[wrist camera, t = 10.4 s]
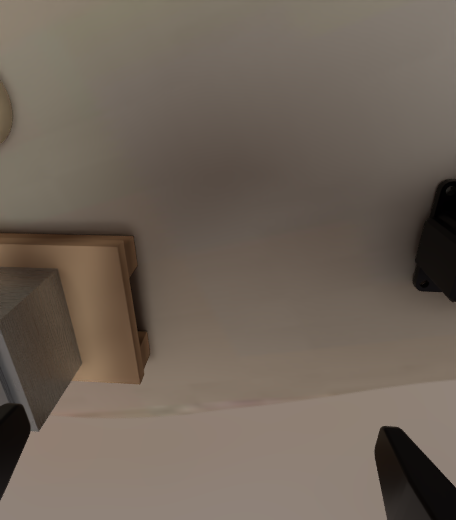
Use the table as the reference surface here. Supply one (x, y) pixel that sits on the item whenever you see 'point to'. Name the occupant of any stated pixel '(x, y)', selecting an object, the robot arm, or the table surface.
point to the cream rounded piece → (5, 113)
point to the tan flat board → (91, 298)
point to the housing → (35, 341)
